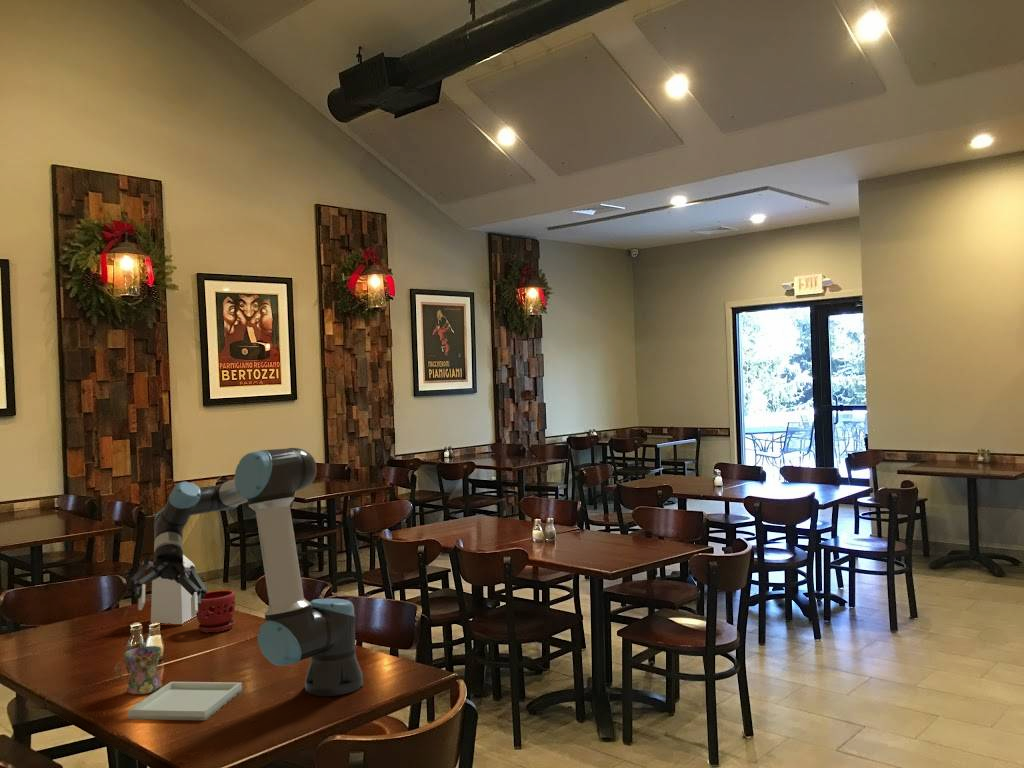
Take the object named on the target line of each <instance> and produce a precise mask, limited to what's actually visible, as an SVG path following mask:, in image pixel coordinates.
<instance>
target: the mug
mask: <svg viewBox="0 0 1024 768" xmlns="http://www.w3.org/2000/svg"><path fill="white" fill-rule="evenodd" d="M162 651H163V648H162V647H160V646H157V645H155V646H154V645H149V646H146V645H145V646H140V647H136V648H135V647H134V648H132V649H129V650H127V651H125V653H124V654H123V656H124V657H125V659H126V661H125V660H122V661H119V662H116V664H115V666H114V670H115V673H116V675H117V676H118V677H119V678H121V679H123V680H125V681H127V683H126V684H127V685H128V686H127V687H126V691H127V693H128V694H131V695H145V694H149V693H154V692H156V691H158V690H159V689H161V688H162V683H161V681H160V679H159V675H158V674H159V673H158V665H159V659H160V656H161V654H162ZM120 664H126V666H127V668H129V678H127V677H124V676H123V675H121V674H120V673H119V670H118V666H119V665H120Z"/></svg>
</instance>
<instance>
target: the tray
mask: <svg viewBox="0 0 1024 768" xmlns="http://www.w3.org/2000/svg"><path fill="white" fill-rule="evenodd" d="M242 691H243V683H242V682H234V681H233V682H230V681H229V682H226V681H225V682H221V681H217V682H216V681H213V682H212V681H211V682H210V681H170V682H169V683H167V684H165V685H163V686H161V687H160V688H159V689H157V690H155V691H154V692H152V693H151V694H150V695H148V696H147V697H146V698H143V700H141V701H139V702H138V703H137V704H135V705H133V706H132V707H130V708H128V709H127V719H128V720H161V721H162V720H164V721H165V720H167V721H168V720H169V721H170V720H171V721H206V720H208V719H209V718H210V717H212V716H213V715H214V714H215V713H217V712H218V711H219V710H220V709H222V708H223V707H224V706H225V705H227V704H228V703H229V702H230V701H231V700H232V698H233V697H234V698H236V697H237V696H238V695H239V694H240V693H241V692H242ZM238 693H239V694H238ZM237 694H238V695H237ZM234 698H233V699H234ZM228 701H229V702H228ZM227 702H228V703H227ZM223 705H224V706H223ZM222 706H223V707H222ZM221 707H222V708H221ZM216 711H217V712H216ZM211 715H212V716H211Z"/></svg>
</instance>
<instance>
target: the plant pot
mask: <svg viewBox="0 0 1024 768" xmlns="http://www.w3.org/2000/svg"><path fill="white" fill-rule="evenodd" d="M235 609H236V593H235V591H234V590H229V589H227V590H225V589H224V590H223V589H222V590H214V591H207V593H206V595H205V597H204V598H201V603H200V605H199V606H198V612H197V613H196V616H197V618H196V619H197V621H198V622H199V625H197V627H198V630H199V631H201V632H203V633H208V632H213V633H220V631H221V632H224V630H225V631H227V629H228V630H229V629H231V628H233V627H234V625H235V622H236V621H235V619H233V617H234V615H235Z"/></svg>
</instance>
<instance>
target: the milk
mask: <svg viewBox="0 0 1024 768" xmlns="http://www.w3.org/2000/svg"><path fill="white" fill-rule="evenodd" d="M183 565H184V567H187V568H190V567H191V566H194V567H195V568H196V566H195V564H194V562H193V561H191V560H190V559H189V558H188V556H186V555H185V554H183ZM186 575H187V574H186ZM179 577H180V576H179ZM187 577H188V576H187ZM151 583H152V584H151V604H150V607H151V608H150V624H151V623H152V622H159V623H165V624H166V623H167V624H168V623H169V624H170V623H171V624H183V623H184V622H186V621H188V620H190V619H191V618H193V617H191V597H192V595H191V594H190V593H189V592H188V591H187V590H186V589H185V588H184V587H183V586H182V585H181V584H180V583H177V582H176V581H175V580H174V579H173V580H169V579H162V578H161V577H158V578H157V579H155V580H153V581H151ZM195 616H196V615H195Z"/></svg>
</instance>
